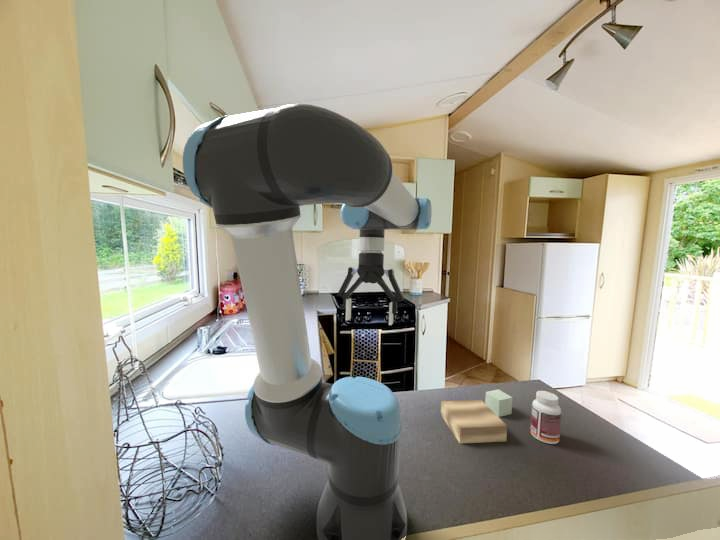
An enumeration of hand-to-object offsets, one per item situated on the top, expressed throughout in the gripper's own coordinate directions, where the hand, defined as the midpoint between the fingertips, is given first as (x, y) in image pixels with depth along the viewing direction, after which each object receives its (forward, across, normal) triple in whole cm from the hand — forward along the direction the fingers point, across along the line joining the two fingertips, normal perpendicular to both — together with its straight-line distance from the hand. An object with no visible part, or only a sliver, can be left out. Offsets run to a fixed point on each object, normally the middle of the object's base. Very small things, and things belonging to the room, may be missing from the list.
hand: (369, 321), depth 86 cm
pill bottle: (+24, -48, +1) cm, 54 cm away
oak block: (+24, -30, +3) cm, 39 cm away
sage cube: (+24, -38, -8) cm, 46 cm away
